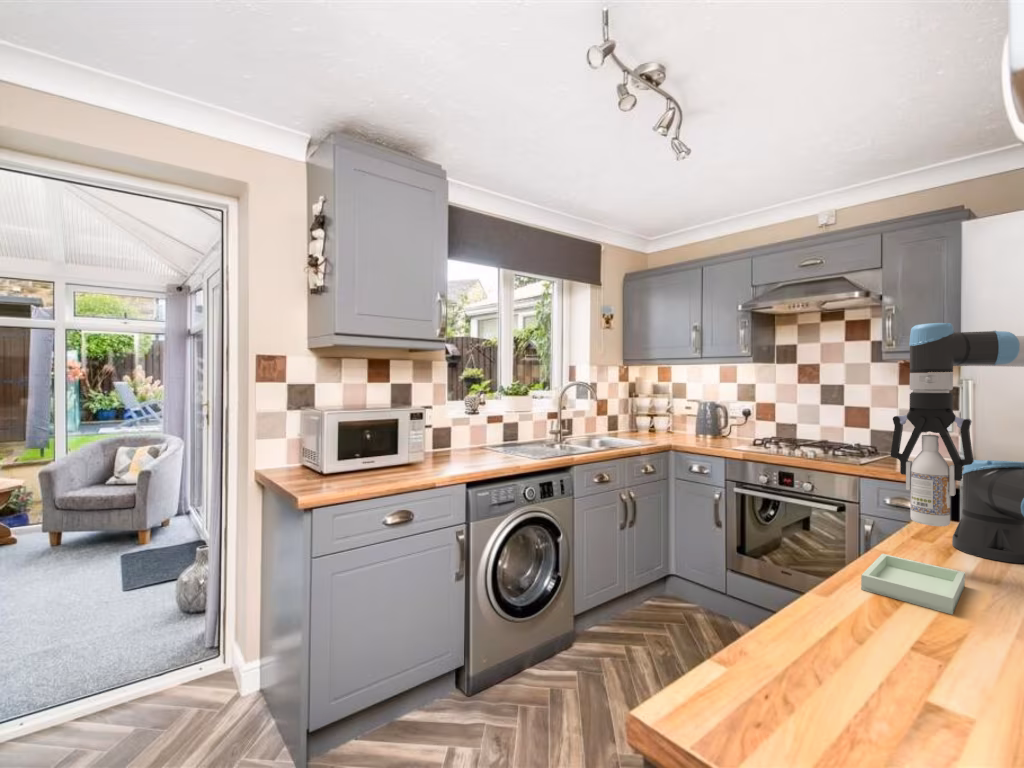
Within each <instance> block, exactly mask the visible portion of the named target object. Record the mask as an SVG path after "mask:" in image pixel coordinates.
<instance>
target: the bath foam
mask: <svg viewBox="0 0 1024 768" xmlns="http://www.w3.org/2000/svg"><path fill="white" fill-rule="evenodd" d="M939 437H940V436H939V435H934V434H922V435H921V451H920V452H919V454H918V455H917V456H916V457H915V458H914V459H913V460H912V465H911V490H910V503H909V504H910V507H909V508H910V510H909V511H910V519H911V521H913V522H914V523H917V524H921V525H925V526H933V527H946V526H949V525H950V524H951V496H950V495H949V472H950V465H948V462H947V461H946V459H945V458H944V457H943V456H942V453H940V451H939V448H940V445H939Z"/></svg>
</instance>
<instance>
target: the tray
mask: <svg viewBox="0 0 1024 768" xmlns="http://www.w3.org/2000/svg"><path fill="white" fill-rule="evenodd" d="M965 576H966V572H965V571H961V570H956V569H951V568H949V567H943V566H938V565H935V564H930V563H925V562H923V561H922V562H921V561H916V560H912V559H908V558H904V557H903V558H902V557H899V556H895V555H891V554H886V553H881V554H880V555H879V556H878V557H877V558H876V559H875V560H874V562H873V563H871V564H870V566H868V567H867V569H866V570H865V571H864V572H863V573H862V574H861V577H860V578H861V581H860V582H861V584H860V589H861V590H862V591H866V592H869V593H872V594H873V593H874V594H877V595H880V596H883V597H887V598H891V599H896V600H898V601H901V602H905V603H908V604H909V603H910V604H913V605H916V606H921V607H924V608H927V609H931V610H935V611H938V612H941V613H944V614H945V613H946V614H947V615H948V614H949V615H952V616H953V615H954V612H955V610H956V608H957V605H958V603H959V600H960V598H961V596H962V594H963V592H964V588H965V581H966V579H965V578H966V577H965Z"/></svg>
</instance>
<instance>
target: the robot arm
mask: <svg viewBox="0 0 1024 768" xmlns="http://www.w3.org/2000/svg"><path fill="white" fill-rule="evenodd" d="M908 346H909V390H910V391H912V392H910V393H909V410H908V412H907V414H906V415H905V414H903V415H896V416H892V422H893V425H894V429H893V434H892V442H891V450H890V457H891V458H894V459H896V460H899V463H900V465H899V466H900V467H899V468H900V469H899V470H900V471H899V472H900V474H901V475H902V476H904V475H905V490H907V491H911V465H912V463H913V460H909V458H910V456H911V454H912V452H913V450H914V449H915V446H916V444H917V441H918V440H919V438H920V436H921V434H922V433H934V434H939V437H940V438H941V440H942V441H943V444H944V446H945V448H946V450H947V452H948V455H949V456H950V458H951V461H952V463H953V464H950V465H949V469H950V472H949V495H950V497H954V496H955V495H956V491H957V490H956V485H957V483H956V482H957V481H959V482H961V481H962V505H961V506H962V511H961V512H962V514H961V519H960V520H959V522H958V524H957V527H956V528H955V530H954V533H953V535H952V538H951V539H952V541H951V542H952V543H951V544H952V546H953V548H955V549H957V550H959V551H961V552H963V553H966V554H969V555H973V556H976V557H980V558H985V559H989V560H993V561H998V562H1006V563H1014V564H1024V461H1018V460H1017V461H1013V460H1012V461H1011V460H989V459H988V460H987V459H974V454H973V448H972V441H971V435H970V434H971V433H970V428H971V425H972V422H973V421H972V419H970V418H962V417H958V416H956V415H955V413H954V394H953V393H952V392H950V391H952V390H953V389H954V367H1012V368H1013V367H1019V368H1020V367H1024V335H1016V334H1015V333H1012V332H1011V331H1000V330H999V331H997V330H991V331H990V330H987V331H962V332H961V331H955V329H954V325H953V324H952V323H951V322H946V323H945V322H935V323H933V322H932V323H931V322H930V323H922V324H921V323H920V324H915V325H914V326H913V327H911V329H910V334H909V343H908ZM907 421H909V422H910V423H911V425H913V430H912V432H911V434H910V437H909V439H908V440H907V443H906V445H905V447H904V449H903V451H902V453H900V449H901V443H902V437H903V436H902V435H903V430H904V425H905V424H906V423H907ZM953 423H956V427H958V428H959V429H960V437H961V445H962V450H963V457H964V458H961V455H960V454H959V452H958V450H957V448H956V445H955V443H954V442H953V440H952V437H951V434H950V432H949V429H948V428H949V427H950V426H951V425H952V424H953Z"/></svg>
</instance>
